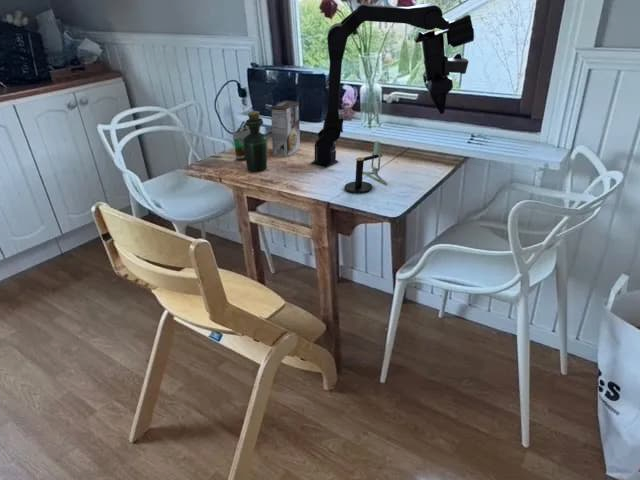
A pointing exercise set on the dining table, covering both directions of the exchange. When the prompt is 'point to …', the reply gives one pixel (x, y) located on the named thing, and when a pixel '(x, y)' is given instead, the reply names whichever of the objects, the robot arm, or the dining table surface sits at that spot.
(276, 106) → the coffee box
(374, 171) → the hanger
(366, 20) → the robot arm
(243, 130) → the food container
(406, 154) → the dining table surface
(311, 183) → the dining table surface
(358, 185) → the black holder stand
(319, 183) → the dining table surface
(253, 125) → the potion bottle
